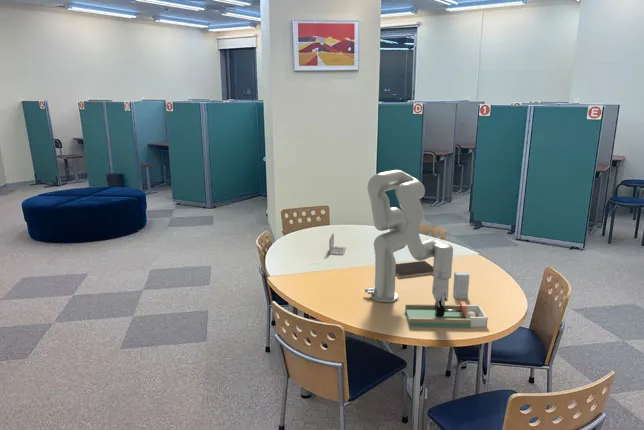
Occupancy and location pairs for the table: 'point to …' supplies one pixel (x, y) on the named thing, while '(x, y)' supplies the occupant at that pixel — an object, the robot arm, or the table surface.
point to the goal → (477, 321)
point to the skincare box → (461, 285)
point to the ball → (471, 314)
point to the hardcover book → (413, 269)
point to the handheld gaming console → (333, 249)
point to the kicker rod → (462, 309)
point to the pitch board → (434, 316)
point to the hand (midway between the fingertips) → (439, 312)
